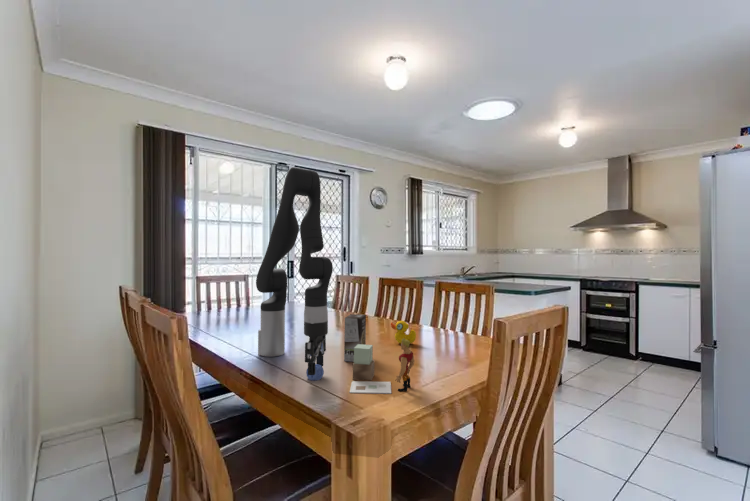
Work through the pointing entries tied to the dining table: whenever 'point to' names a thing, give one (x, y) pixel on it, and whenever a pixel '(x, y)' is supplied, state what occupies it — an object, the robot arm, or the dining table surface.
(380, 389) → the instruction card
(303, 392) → the dining table surface
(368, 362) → the sage cube
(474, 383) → the dining table surface
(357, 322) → the coffee box
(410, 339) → the duckling
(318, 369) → the decorative dice
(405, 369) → the action figure
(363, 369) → the base block
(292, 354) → the dining table surface
